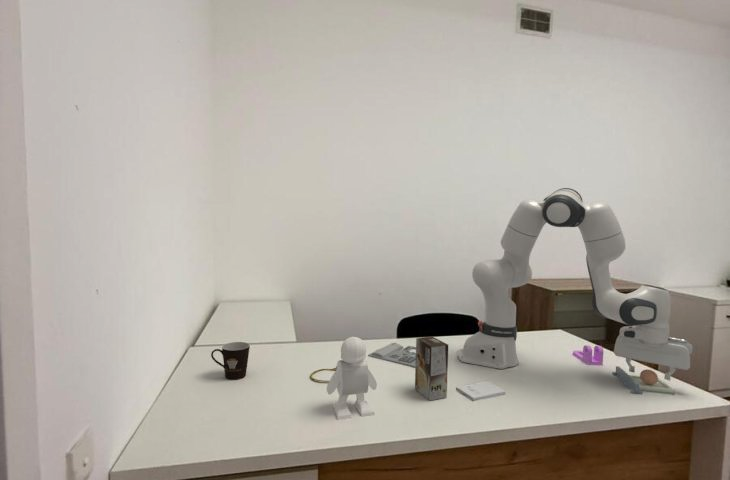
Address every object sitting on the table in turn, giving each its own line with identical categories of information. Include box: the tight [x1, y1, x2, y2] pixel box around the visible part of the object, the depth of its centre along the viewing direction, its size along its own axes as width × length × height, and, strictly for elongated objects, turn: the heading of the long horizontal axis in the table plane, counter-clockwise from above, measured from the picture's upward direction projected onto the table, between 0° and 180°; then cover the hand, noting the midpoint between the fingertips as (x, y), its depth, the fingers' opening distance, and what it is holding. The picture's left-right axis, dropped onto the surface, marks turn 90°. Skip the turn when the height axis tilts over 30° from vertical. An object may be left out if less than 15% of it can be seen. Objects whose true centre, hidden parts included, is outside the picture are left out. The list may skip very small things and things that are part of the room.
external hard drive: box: [455, 380, 506, 402], centre depth 118 cm, size 2×8×12 cm
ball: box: [639, 369, 659, 385], centre depth 127 cm, size 5×5×5 cm
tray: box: [628, 374, 675, 395], centre depth 127 cm, size 10×10×1 cm
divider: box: [611, 365, 643, 395], centre depth 128 cm, size 3×16×3 cm, turn 166°
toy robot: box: [326, 336, 377, 420], centre depth 105 cm, size 14×9×20 cm, turn 107°
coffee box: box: [414, 336, 449, 401], centre depth 116 cm, size 9×6×16 cm
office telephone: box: [367, 342, 416, 369], centre depth 150 cm, size 23×3×20 cm
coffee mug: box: [210, 341, 251, 381], centre depth 125 cm, size 12×9×10 cm
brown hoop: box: [309, 365, 337, 384], centre depth 128 cm, size 12×16×2 cm
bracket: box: [572, 344, 604, 366], centre depth 151 cm, size 13×6×7 cm, turn 179°
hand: (649, 375), depth 127 cm, fingers open, 8 cm apart
